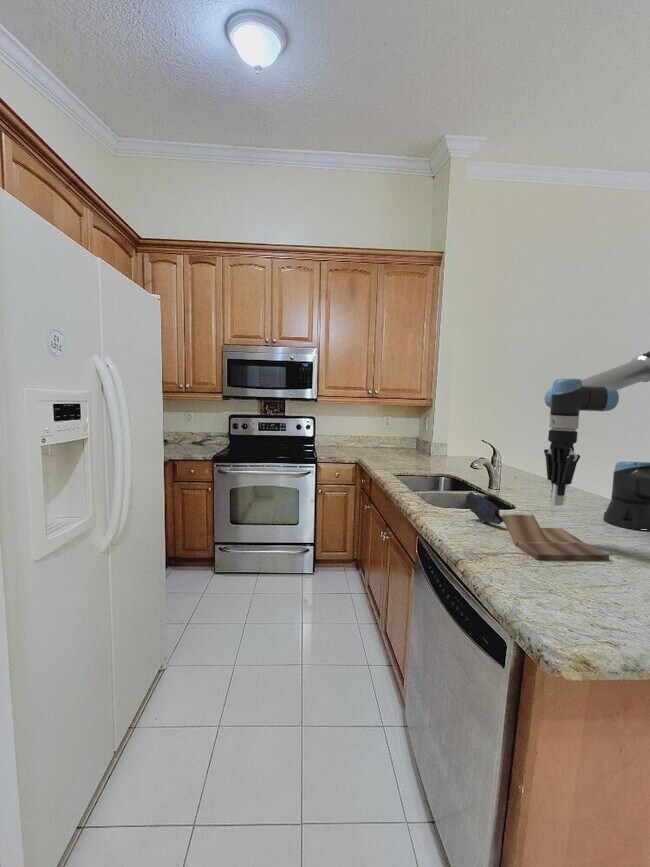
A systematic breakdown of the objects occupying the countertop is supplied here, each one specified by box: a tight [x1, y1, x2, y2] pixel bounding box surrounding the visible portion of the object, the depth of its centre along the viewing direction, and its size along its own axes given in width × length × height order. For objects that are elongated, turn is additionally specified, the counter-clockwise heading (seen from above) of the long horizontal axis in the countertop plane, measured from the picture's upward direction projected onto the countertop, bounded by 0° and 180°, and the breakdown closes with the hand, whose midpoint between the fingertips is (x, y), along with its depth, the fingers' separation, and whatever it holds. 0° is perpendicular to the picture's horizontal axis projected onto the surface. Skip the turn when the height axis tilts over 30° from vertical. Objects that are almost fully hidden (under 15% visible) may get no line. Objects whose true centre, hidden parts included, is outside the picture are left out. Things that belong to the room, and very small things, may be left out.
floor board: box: [516, 541, 610, 561], centre depth 108 cm, size 21×9×2 cm, turn 95°
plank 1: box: [501, 513, 548, 546], centre depth 117 cm, size 10×10×2 cm
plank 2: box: [540, 527, 584, 542], centre depth 119 cm, size 10×10×2 cm
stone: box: [465, 491, 504, 525], centre depth 133 cm, size 14×6×10 cm, turn 50°
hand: (557, 504), depth 119 cm, fingers closed
